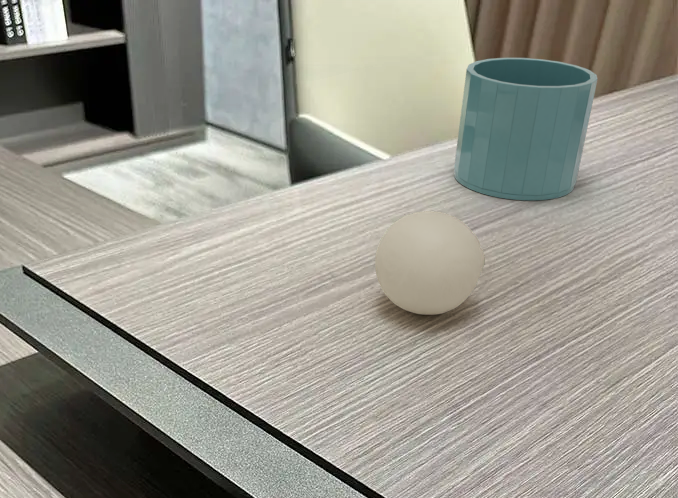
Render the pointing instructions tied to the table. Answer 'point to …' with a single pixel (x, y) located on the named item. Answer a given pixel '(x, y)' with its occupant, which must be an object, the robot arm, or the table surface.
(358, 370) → the table surface
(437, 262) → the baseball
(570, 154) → the canister
